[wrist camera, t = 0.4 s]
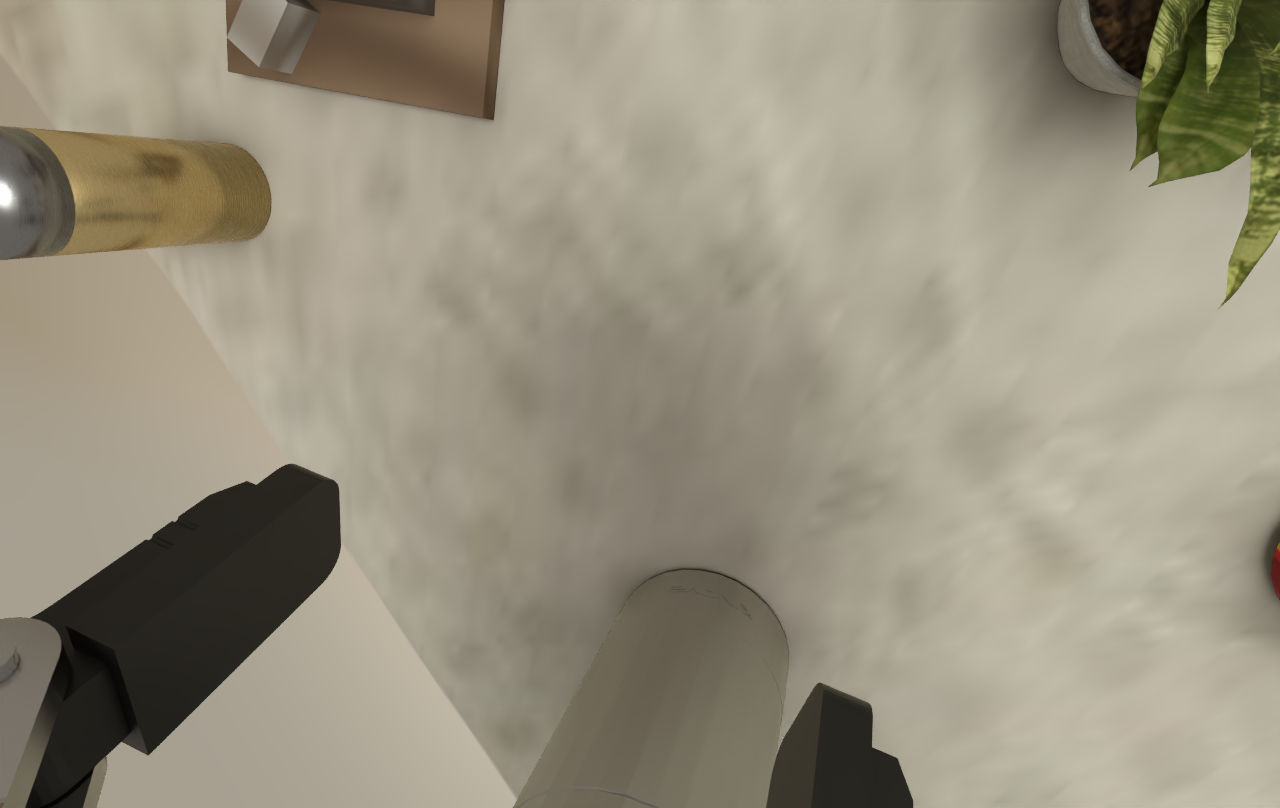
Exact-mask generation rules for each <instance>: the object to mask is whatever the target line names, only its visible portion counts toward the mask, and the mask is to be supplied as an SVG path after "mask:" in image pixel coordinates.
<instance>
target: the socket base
mask: <svg viewBox="0 0 1280 808" xmlns="http://www.w3.org/2000/svg"><path fill="white" fill-rule="evenodd" d="M503 8H504V0H226V21H227V52H228V72H233V73H239V74H244V75H249V76H255V77H260V78H266V79H271V80H277V81H282V82H288V83H293V84H299V85H304V86H310V87H315V88H321V89H326V90H332V91H337V92H343V93H348V94H354V95H359V96H365V97H370V98H376V99H381V100H387V101H392V102H398V103H403V104H409V105H414V106H420V107H425V108H431V109H436V110H442V111H447V112H453V113H458V114H464V115H469V116H475V117H480V118H486V119H491V120H493V118H494V107H495V96H496V85H497V74H498V63H499V52H500V41H501V30H502V19H503Z"/></svg>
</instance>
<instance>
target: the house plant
mask: <svg viewBox="0 0 1280 808" xmlns="http://www.w3.org/2000/svg"><path fill="white" fill-rule="evenodd" d="M1057 31H1058V40H1059V49H1060V52H1061V55H1062V59H1063V62H1064V66H1065V67H1066V68H1067V69H1068V70H1069V72H1070V73H1071V74H1072V75H1073V76H1074V77H1075V78H1076V79H1077V80H1078V81H1080V82H1081V83H1083V84H1085V85H1087V86H1088V87H1090V88H1092V89H1094V90H1098V91H1103V92H1107V93H1111V94H1118V95H1125V96H1133V97H1137V107H1136V121H1137V145H1136V158H1135V160H1134V162H1133V164H1132V166H1131V169H1133V168H1134V167H1135V166H1136V165H1137V164H1138V163H1139V162H1140V161H1142V160H1143V159H1144V158H1146V157H1148V156H1150V155H1151V154H1153V153H1155V152H1157V151H1158V155H1159V169H1158V177H1157V180H1156V181H1155V182H1153V183H1152V184H1151V185H1150V186H1154V185H1157V184H1161V183H1164V182H1168V181H1173V180H1177V179H1182V178H1186V177H1191V176H1196V175H1200V174H1205V173H1209V172H1214V171H1219V170H1221V169H1222V168H1224V167H1226V166H1227V165H1229V164H1231V163H1232V162H1234V161H1236V160H1237V159H1239V158H1240V157H1242V156H1244V155H1245V154H1246V153H1247V151H1248V150H1249V149H1250V148H1251V147H1252V149H1251V184H1250V196H1249V206H1248V214H1247V216H1246V219H1245V222H1244V224H1243V227H1242V229H1241V232H1240V234H1239V237H1238V240H1237V242H1236V245H1235V248H1234V250H1233V253H1232V256H1231V258H1230V261H1229V268H1228V283H1227V293H1226V299H1225V300H1224V302H1223V303H1222V304H1221V306H1222V305H1223V304H1224V303H1226V302H1227V301H1228V300H1229V299H1230V298H1231V297H1232V296H1233V294H1234V293H1235V292H1236V291H1237V290H1238V289H1239V287H1240V286H1241V285H1242V283H1243V282H1244V280H1245V279H1246V277H1247V276H1248V275H1249V273H1250V272H1251V270H1252V269H1253V268H1254V266H1255V265H1256V263H1257V262H1258V261H1259V259H1260V258H1261V257H1262V256H1263V254H1264V253H1265V252H1266V250H1267V249H1268V248H1269V246H1270V245H1271V244H1272V242H1273V240H1274V238H1275V237H1276V235H1277V233H1278V231H1279V229H1280V0H1062V1H1061V3H1060V6H1059V8H1058V25H1057ZM1131 169H1130V170H1131ZM1150 186H1148V187H1150ZM1221 306H1220V307H1221ZM1220 307H1219V308H1220ZM1219 308H1218V309H1219Z"/></svg>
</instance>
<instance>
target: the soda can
mask: <svg viewBox="0 0 1280 808" xmlns="http://www.w3.org/2000/svg"><path fill="white" fill-rule="evenodd" d="M1272 579H1273V585H1274V588H1275V591H1276V593H1277V596H1278V597H1279V599H1280V542H1279V544H1278V546H1277V548H1276V551H1275V554H1274V557H1273V561H1272Z"/></svg>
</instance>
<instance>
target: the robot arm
mask: <svg viewBox="0 0 1280 808" xmlns="http://www.w3.org/2000/svg"><path fill="white" fill-rule="evenodd" d="M340 548H341V534H340V502H339V487H338V484H337V483H336V482H335V481H334V480H332V479H329V478H327V477H324V476H322V475H320V474H317V473H315V472H312V471H310V470H308V469H305V468H303V467H301V466H298V465H295V464H287V465H285V466H283V467H281V468H279V469H277V470H276V471H275V472H273V473H272V474H271V475H269V476H268V477H267V478H265V479H264V480H263V481H261V482H260V483H259V484H257V485H255V484H253V483H250V482H248V481H246V482H244V483H241V484H238V485H235V486H233V487H230V488H227V489H225V490H222V491H219V492H217V493H214V494H211V495H209V496H208V497H206V498H205V499H203V500H202V501H200V502H199V503H197V504H196V505H195V506H193V507H192V508H190V509H189V510H187V511H186V512H185V513H183V514H182V515H180V516H179V517H178V520H177V521H176V522H173V521H172V522H170V523H169V524H167V525H166V526H165V527H163V528H162V529H160V530H159V531H157V532H156V533H155V534H153V536H152V538H151V539H150V540H144V541H143V542H142V543H140V544H139V545H137V546H136V547H134V548H133V549H132V550H130V551H129V552H127V553H126V554H124V555H123V556H122V557H120V558H119V559H117V560H116V561H114V562H113V563H112V564H110V565H109V566H107V567H106V568H104V569H103V570H101V571H100V572H99V573H97V574H96V575H94V576H93V577H91V578H90V579H89V580H87V581H86V582H84V583H83V584H81V585H80V586H79V587H77V588H76V589H74V590H73V591H71V592H70V593H69V594H67V595H66V596H64V597H63V598H61V599H60V600H58V601H57V602H56V603H54V604H53V605H51V606H50V607H48V608H47V609H45V610H44V611H42V612H41V613H39V614H37V615H35V616H33V617H31V618H22V617H18V618H5V619H0V808H97V804H98V801H99V796H100V793H101V789H102V786H103V782H104V779H105V775H106V770H107V757H106V756H107V755H108V754H109V752H111V751H112V750H113V749H114V748H115V747H116V746H117V745H118V744H119V743H120V742H123V743H125V744H127V745H129V746H131V747H133V748H135V749H137V750H139V751H141V752H143V753H145V754H147V755H149V754H150V753H151V752H152V751H153V750H154V749H155V748H157V746H159V745H160V743H162V742H163V741H164V740H165V739H166V738H167V736H169V735H170V734H171V733H172V732H173V731H174V730H175V728H177V727H178V726H179V725H180V724H181V723H182V722H183V721H184V720H185V719H186V718H187V717H188V716H189V715H190V714H191V713H192V712H193V711H194V710H195V709H196V708H197V707H198V706H199V705H200V704H201V703H202V702H203V701H204V700H205V699H206V698H207V697H208V696H209V695H210V694H211V693H212V692H213V691H214V690H215V689H216V688H217V687H218V686H219V685H220V684H221V683H222V682H223V681H224V680H225V679H226V678H227V677H228V676H229V675H230V674H231V673H232V672H233V671H234V670H235V669H236V668H237V667H238V666H239V665H240V664H241V663H242V662H243V661H244V660H245V659H246V658H247V657H248V656H249V655H250V654H251V653H252V652H253V651H254V650H255V649H256V648H257V647H259V645H261V644H262V643H263V642H264V640H266V639H267V638H268V637H269V636H270V635H271V634H272V633H273V632H274V631H275V630H276V629H277V628H278V627H279V626H280V625H281V624H282V623H283V622H284V621H285V620H286V619H287V618H288V617H289V616H290V615H291V614H292V613H293V612H294V611H295V610H296V609H297V608H298V607H299V606H300V605H301V604H302V603H303V602H304V601H305V600H306V599H307V598H308V597H309V596H310V595H311V594H312V593H313V592H314V591H315V590H316V589H317V588H318V587H319V586H320V585H321V584H322V583H323V582H324V581H325V580H326V578H327V577H328V576H329V574H330V573H331V571H332V570H333V568H334V566H335V564H336V562H337V559H338V557H339V553H340ZM788 664H789V651H788V646H787V641H786V636H785V634H784V632H783V630H782V627H781V625H780V623H779V621H778V619H777V618H776V617H775V615H774V614H773V612H772V611H771V610H770V608H769V607H768V606H767V605H766V604H765V603H764V602H763V601H762V600H761V599H760V598H759V597H758V596H757V595H756V594H755V593H754V592H752V591H750V590H749V589H747V588H746V587H744V586H743V585H741V584H740V583H738V582H736V581H734V580H731V579H729V578H727V577H724V576H722V575H719V574H715V573H711V572H706V571H701V570H678V571H672V572H667V573H663V574H661V575H658V576H656V577H653V578H651V579H649V580H648V581H646V582H645V583H644V584H642V585H641V586H639V587H638V588H637V589H636V590H635V591H634V593H633V594H632V595H631V596H630V597H629V599H628V600H627V602H626V604H625V605H624V607H623V609H622V611H621V613H620V614H619V616H618V618H617V620H616V622H615V624H614V625H613V627H612V629H611V631H610V633H609V635H608V636H607V638H606V640H605V642H604V643H603V645H602V647H601V648H600V650H599V652H598V654H597V656H596V657H595V659H594V661H593V663H592V665H591V667H590V668H589V670H588V672H587V674H586V676H585V677H584V679H583V681H582V683H581V685H580V687H579V688H578V690H577V692H576V694H575V696H574V698H573V699H572V701H571V703H570V705H569V707H568V708H567V710H566V712H565V714H564V716H563V718H562V719H561V721H560V723H559V725H558V727H557V728H556V730H555V732H554V734H553V736H552V738H551V739H550V741H549V743H548V745H547V747H546V749H545V750H544V752H543V754H542V756H541V758H540V759H539V761H538V763H537V765H536V767H535V769H534V770H533V772H532V774H531V776H530V778H529V779H528V781H527V783H526V785H525V787H524V789H523V790H522V792H521V794H520V796H519V798H518V800H517V801H516V803H515V805H514V807H513V808H913V799H912V796H911V794H910V791H909V788H908V786H907V783H906V780H905V778H904V775H903V772H902V770H901V767H900V764H899V762H898V759H897V758H896V757H893V756H891V755H889V754H886V753H884V752H882V751H879V750H877V749H875V748H872V722H873V714H872V708H871V705H870V704H869V703H868V702H865V701H863V700H860V699H858V698H856V697H853V696H851V695H848V694H846V693H844V692H841V691H839V690H837V689H834V688H832V687H829V686H827V685H825V684H822V683H818V684H817V685H816V686H815V687H814V689H813V690H812V692H811V694H810V695H809V697H808V699H807V700H806V702H805V704H804V705H803V707H802V709H801V710H800V712H799V714H798V715H797V717H796V719H795V720H794V722H793V724H792V725H791V727H790V729H789V730H788V732H787V734H786V735H785V737H784V739H783V741H782V743H781V746H780V748H779V751H778V754H777V748H778V741H779V733H780V726H781V721H782V713H783V705H784V698H785V690H786V683H787V675H788ZM776 756H777V757H776Z"/></svg>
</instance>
